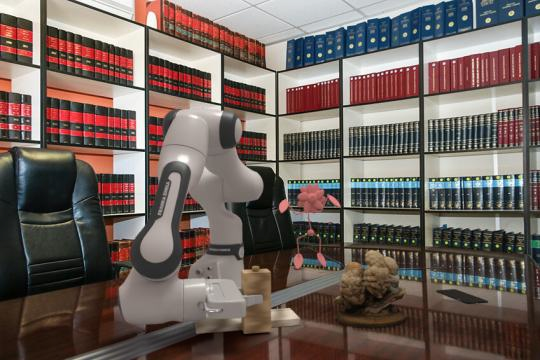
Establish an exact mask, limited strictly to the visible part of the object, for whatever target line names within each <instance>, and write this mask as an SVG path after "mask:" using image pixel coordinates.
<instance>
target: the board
mask: <svg viewBox="0 0 540 360" xmlns="http://www.w3.org/2000/svg"><path fill="white" fill-rule="evenodd" d="M300 325H301V318H300V316H299V315H297V314H296V313H295V311H294V310H292V309H291V308H290V307H288V308H285V307H284V308H274V309H273V308H271V328H281V327H292V326H300ZM194 326H195V333H196V334H197V335H198V334H199V335H200V334H206V333H220V332H234V331H243V330H242V328H241V318H237V319H213V318H210V317H209V316H208V314H206V320H201V321H194Z"/></svg>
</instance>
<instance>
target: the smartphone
mask: <svg viewBox="0 0 540 360" xmlns="http://www.w3.org/2000/svg"><path fill="white" fill-rule="evenodd" d="M435 291H436V293H438V294H440V295H442V296H446V297H448V298H451V299H452V300H455V301H458V302H460V301H461V303H464V304H465V303H466V305H474V304H475V305H476V303H478V304H488V303H489V301H488V300H486V299H485V298H481V297H478V296H475V295H473V294H470V293H467V292H464V291H462V290H458V289H457V288H450V289H449V288H448V289H437V290H435Z"/></svg>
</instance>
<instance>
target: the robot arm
mask: <svg viewBox="0 0 540 360" xmlns="http://www.w3.org/2000/svg"><path fill="white" fill-rule="evenodd" d="M161 131H162V132H161V133H162V137H163V142H162V144H161V145H162V146H161V150H160V153H159V157H158V165H157V180H158V183H157V189H156V191H155V196H154V198H153V199H154V200H153V202H152V203H153V204H152V206H151V209H150V214H149V216H148V220H147V221H146V223H145V225H144V226H143V227H142V229H141V230H140V231H139V232H138V233H137V235H136V236H135V238H134V239H133V241H132V242H131V246H130V249H129V259H130V263H131V265H132V268H131V269H130V272H129V273H128V275H127V276H126V278H125V280H124V281H123V283H122V284H121V285H120V286H119V287H118V290H117V302H118V303H117V305H118V309H119V311H120V315H121V317H122V318H123V320H124V321H126V323H129V324H132V325H159V324H165V323H167V322H173V321H174V322H180V323H185V322H187V323H188V322H195V321H201V320H206V314H208V316H209V317H210V318H213V319H237V318H242V317H245V316H246V307H248V306H251V305H254V304H261V303H263V296H262V295H261V294H254V295H250V296H247V295H242V294H241V270H245V265H244V256H245V255H244V254H245V249H244V248H245V246H244V241H243V222H242V219H241V218H240V217H239V216H238V215H237V214H235V213H233V212H231V211H229V210H228V209H227V208H226V203H246V202H252V201H256V200H259V198H260V197H261V195H262V193H263V191H264V181H263V179H262V176H261V175H260V174H259V173H258V172H257V171H255V170H252V169H251V168H248V167H247V166H246V165H245V164H244V163H243V162H242V161H241V159H240V158H239V155H238V152H237V148H236V146H238V145H239V143H240V141H241V138H242V134H243V125H242V121H241V118H240V116H239V115H238V113H236V112H233V111H232V110H225V109H224V110H219V109H213V108H189V109H182V108H177V109H176V108H175V109H172V110H169V111H168V112H167V113H166V114H165V115H164V116H163V119H162V124H161ZM205 169H206V170H205ZM188 193H189V195H190V197H191V198H192V199H193V200H194V201H195V202H197V203H198V204H199V205H200V206H201V208H202V209H203V211H204V212H205V214H206V217H207V221H208V225H209V226H208V227H209V243H207V244H205V245H203V246H202V247H204V248H202V249H203V250H205V254H203V255H202V256H201V257H200V258H199V259H197V260H196V261H195V262H194V263H193V264H191V266H190V268H189V271H188V277H187V278H183V279H181V278H179V277H178V276H179V271H180V270H181V267H182V259H183V254H184V253H183V252H184V250H183V249H184V248H183V247H184V246H183V242H182V238H181V233H180V223H181V220H182V215H183V211H184V207H185V202H186V199H187V196H188Z"/></svg>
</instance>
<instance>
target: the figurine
mask: <svg viewBox="0 0 540 360" xmlns="http://www.w3.org/2000/svg"><path fill="white" fill-rule="evenodd" d="M299 190H300V192H301V193H299V194H298V195H297V199H298V202H297V207H298V208H302V207H303V211H301V212H296V211H295V210H294V209H293V208H292V206H291V205H290V203H289V201H288V200H287V199H286V198H285V199H284V200H281V202H280V203H279V205H278V206H279V207H278V210H279V211H280V214H283V213H284V212H286V211H287V210H288V208H289V209H291V211H292V212H293V214H294V215H295V216H297V215H301V214H303V213H305V214H307V221H308V224H309V228H310V229H308V230H307V233H306V234H303V235H302V236H299V237H297V238H296V244H297V254H295V256H294V257H293V264H294V267H295V269H296V270H299V269H300V268H301V267H302V266H303V263H304V258H303V254H301V253H300V249H299V247H300V246H299V239H301V238H303V237H305V236H310V237H312V236H316V237H317V238H318V239H319V250H321V245H322V243H321V242H322V241H321V237H320V236H319V235H317V234H316V233H315V231H314V229H312V225H311V220H310V213H312V214H314V215H315V214H316V213H322V211H323V210H324V207H325V205H326V203H327V201H328V199H329V201H330V202H331V204H333V205H334V206H336V207H337V208H340V209H341V208H342V207H341V206H342V205H341V204H340V202H339V201H338V199H336V197H334V196H332V195H330V194H327V195H326V196H327V197H326V196H324V194H325V189H323V188H321V189H320V185H319V184H318V183H314V185H313V184H311V183H307V185H306V186H300V188H299ZM316 256H317V261H316V262H317V263H316V267H318V266H319V263H320V265H322V266H323V267H324V268H327V264H326V263H327V262H326V259H325V257H324V256H323V254H322V253H321V252H317V254H316ZM336 270H338V268H337V269H334V270H333V272H335V271H336ZM330 272H332V270H331V271H328V273H330ZM324 273H326V271H324V272H322V271H321V272H319V274H324Z"/></svg>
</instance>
